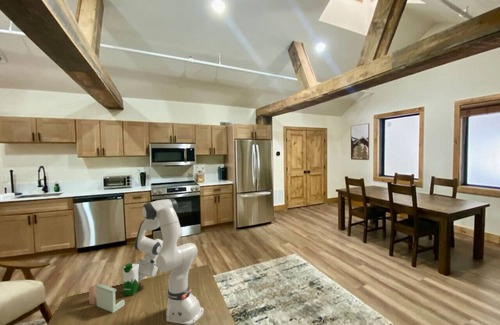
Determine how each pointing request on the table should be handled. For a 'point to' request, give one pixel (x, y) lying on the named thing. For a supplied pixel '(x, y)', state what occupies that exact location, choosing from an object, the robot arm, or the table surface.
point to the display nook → (107, 298)
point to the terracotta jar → (92, 295)
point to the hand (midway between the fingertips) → (138, 280)
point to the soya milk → (130, 279)
